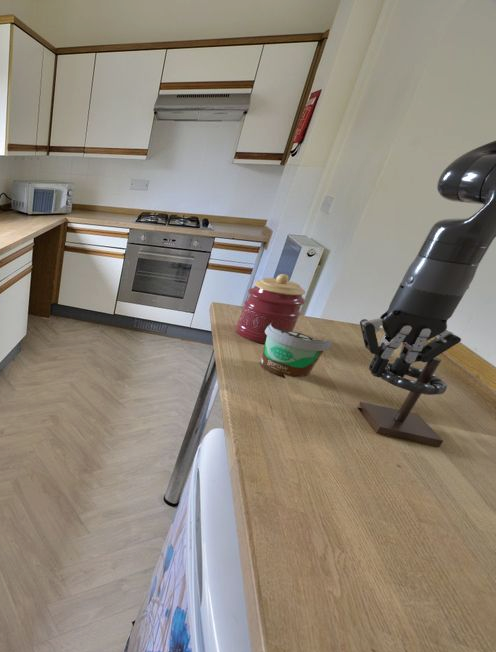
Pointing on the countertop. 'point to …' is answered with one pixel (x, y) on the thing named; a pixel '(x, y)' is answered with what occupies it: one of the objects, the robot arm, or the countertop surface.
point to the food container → (291, 352)
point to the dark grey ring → (432, 388)
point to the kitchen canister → (270, 307)
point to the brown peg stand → (404, 415)
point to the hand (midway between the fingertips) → (383, 376)
